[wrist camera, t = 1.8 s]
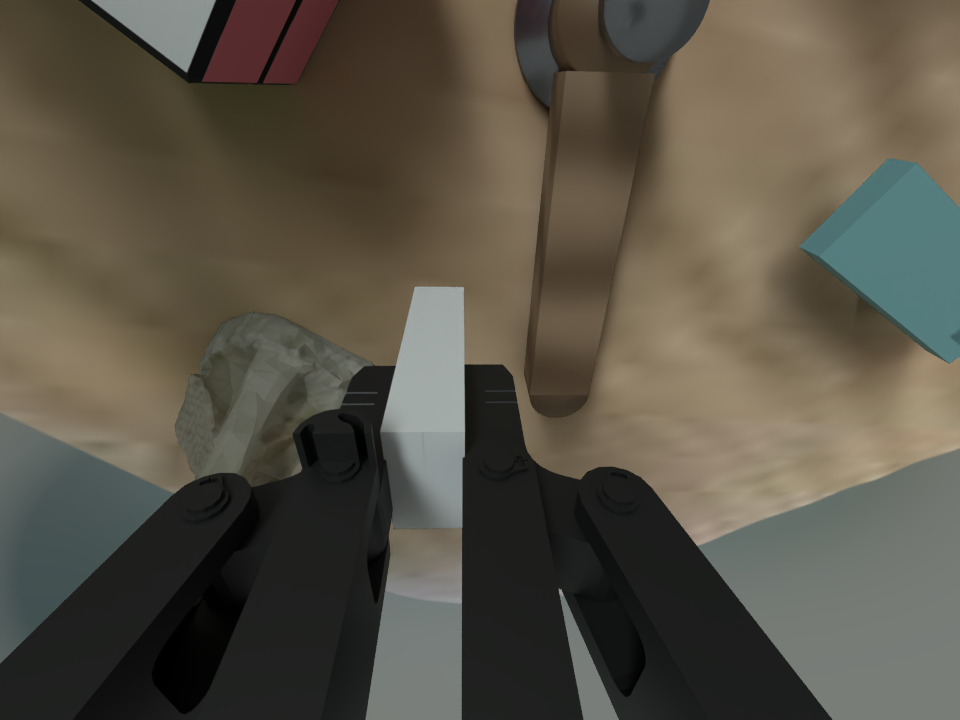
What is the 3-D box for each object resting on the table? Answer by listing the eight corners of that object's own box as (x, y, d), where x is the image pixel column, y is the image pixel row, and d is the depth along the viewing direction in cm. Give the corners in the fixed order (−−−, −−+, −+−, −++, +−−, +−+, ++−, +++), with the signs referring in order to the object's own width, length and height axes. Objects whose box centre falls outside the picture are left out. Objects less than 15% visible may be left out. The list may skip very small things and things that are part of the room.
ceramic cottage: (250, 281, 27) (82, 470, 15) (442, 406, 34) (429, 601, 22) (160, 409, 34) (-7, 611, 22) (337, 492, 41) (284, 678, 29)
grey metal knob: (520, -93, 19) (555, -196, 12) (697, -85, 19) (828, -179, 12) (509, 116, 23) (529, 129, 16) (653, 120, 23) (731, 133, 17)
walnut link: (554, -52, 19) (569, -73, 16) (664, -47, 19) (696, -67, 16) (515, 391, 32) (520, 417, 29) (580, 391, 32) (591, 417, 30)
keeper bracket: (745, 221, 27) (818, 256, 21) (814, 145, 24) (917, 163, 19) (869, 320, 31) (957, 370, 25) (938, 264, 29) (1050, 305, 23)
